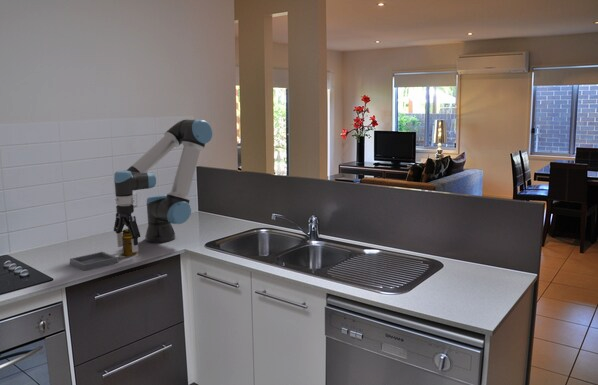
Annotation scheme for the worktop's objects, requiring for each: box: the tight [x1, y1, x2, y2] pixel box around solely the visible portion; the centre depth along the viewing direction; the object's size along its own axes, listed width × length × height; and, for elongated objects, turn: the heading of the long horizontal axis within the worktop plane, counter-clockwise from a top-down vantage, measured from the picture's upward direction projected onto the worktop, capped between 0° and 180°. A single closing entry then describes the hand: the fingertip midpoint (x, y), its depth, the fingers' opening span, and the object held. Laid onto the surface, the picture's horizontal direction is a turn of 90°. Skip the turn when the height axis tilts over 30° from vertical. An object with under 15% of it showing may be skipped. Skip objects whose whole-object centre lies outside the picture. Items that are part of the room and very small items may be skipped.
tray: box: [69, 251, 118, 272], centre depth 225 cm, size 15×14×2 cm
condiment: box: [117, 228, 139, 259], centre depth 237 cm, size 7×8×12 cm
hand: (127, 249), depth 238 cm, fingers open, 13 cm apart
